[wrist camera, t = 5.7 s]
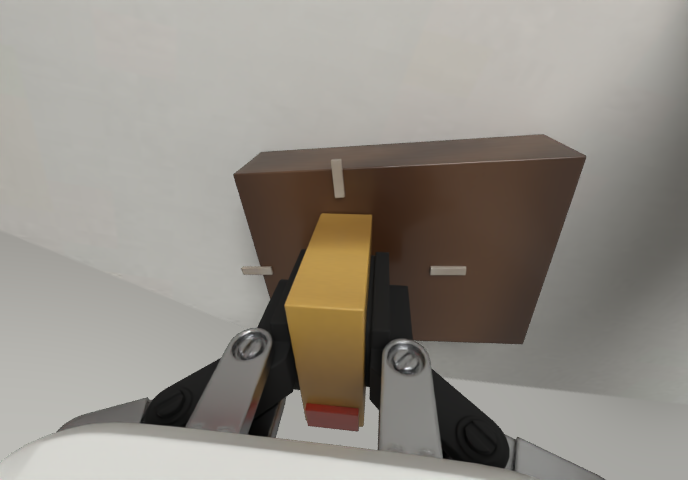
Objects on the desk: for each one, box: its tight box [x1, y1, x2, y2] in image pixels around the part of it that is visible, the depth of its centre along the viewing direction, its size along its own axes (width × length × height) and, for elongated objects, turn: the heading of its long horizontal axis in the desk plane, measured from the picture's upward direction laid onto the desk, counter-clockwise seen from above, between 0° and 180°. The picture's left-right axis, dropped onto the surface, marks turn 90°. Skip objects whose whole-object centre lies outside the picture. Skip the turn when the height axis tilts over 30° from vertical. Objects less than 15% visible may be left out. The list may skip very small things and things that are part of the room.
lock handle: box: [284, 213, 372, 431], centre depth 11 cm, size 6×2×5 cm, turn 2°
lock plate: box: [234, 134, 586, 344], centre depth 14 cm, size 13×10×3 cm
